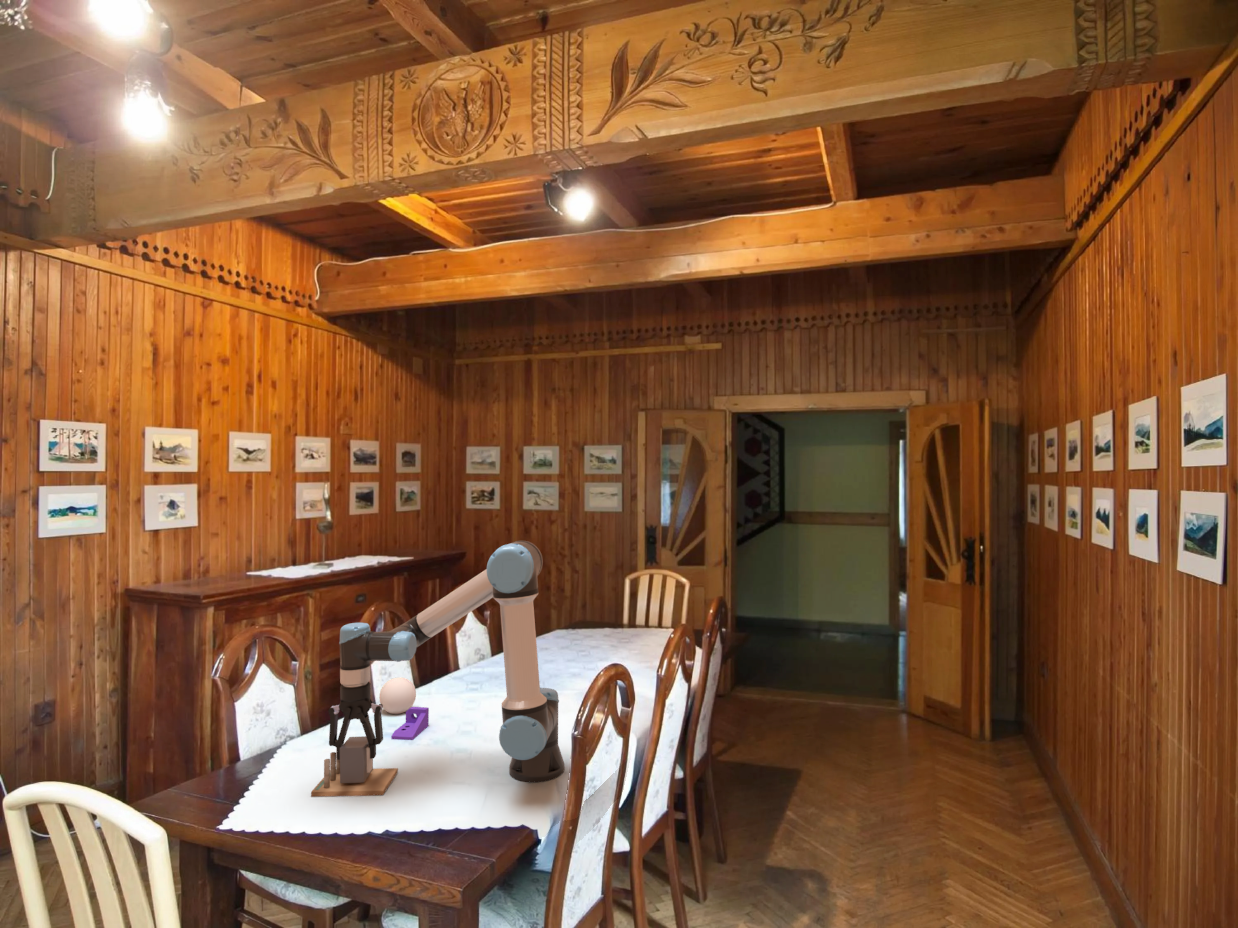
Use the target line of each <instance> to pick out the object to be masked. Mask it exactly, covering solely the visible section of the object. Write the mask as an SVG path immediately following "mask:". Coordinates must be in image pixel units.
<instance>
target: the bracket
mask: <svg viewBox="0 0 1238 928" xmlns="http://www.w3.org/2000/svg"><path fill="white" fill-rule="evenodd" d="M429 714H430V710H429V707H427V706H426V707H425V706H424V707H421V706H412V707H411V708H410V709H408V710H407V711H406V712H405V722H404V723H403V724H401V725H400V726H399V727H398V728H396V729H395V730H394V731H393V733H392V734H391V737H390V738H391V740H398V741H399V740H401V741H402V740H405V741H414V739H416V738H417V737H418V736H419V735H420V734H421V733H423V732H424V731H425V729H427V728H428V727H429V725H430V724H429V719H430V718H429V717H430V716H429Z"/></svg>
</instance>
